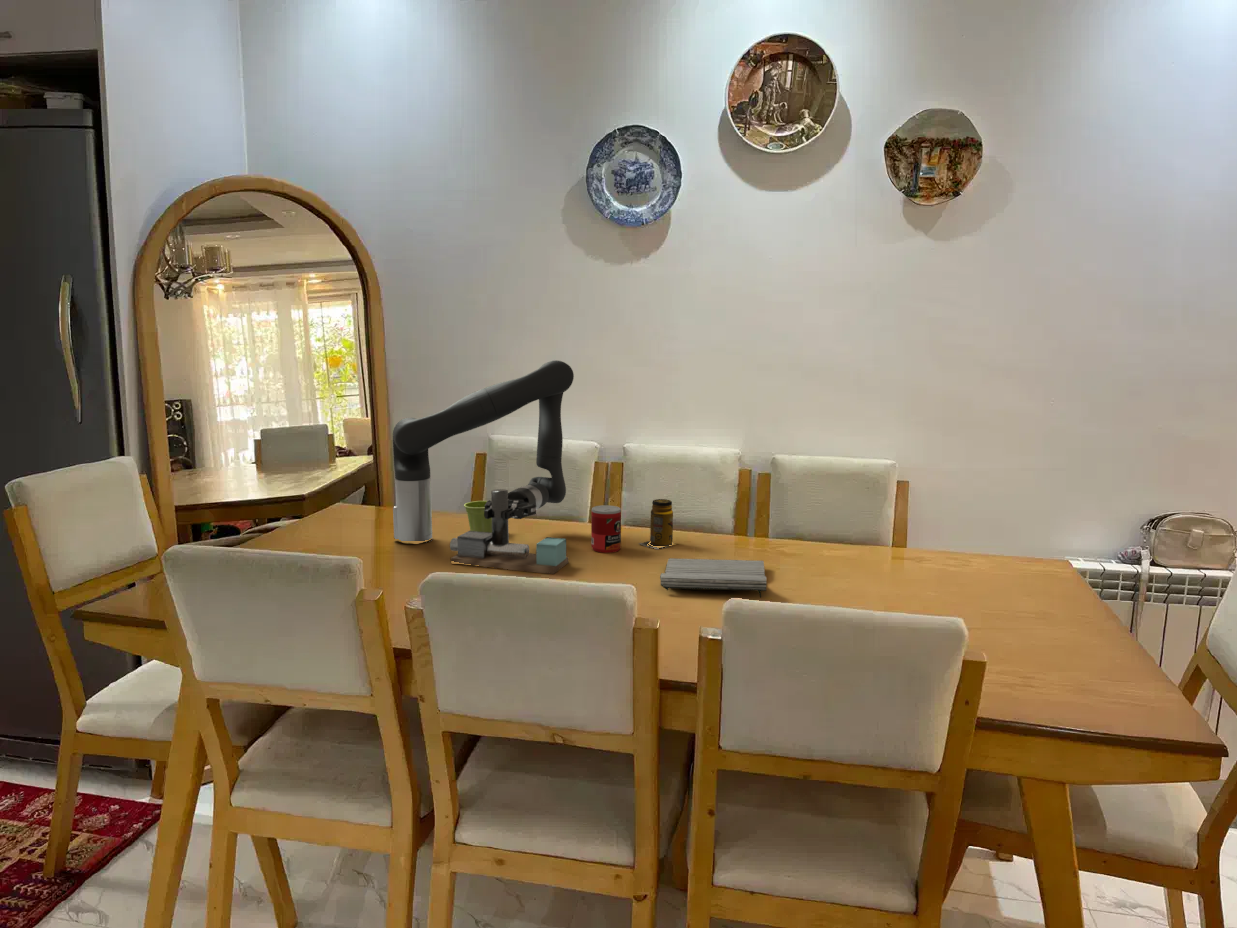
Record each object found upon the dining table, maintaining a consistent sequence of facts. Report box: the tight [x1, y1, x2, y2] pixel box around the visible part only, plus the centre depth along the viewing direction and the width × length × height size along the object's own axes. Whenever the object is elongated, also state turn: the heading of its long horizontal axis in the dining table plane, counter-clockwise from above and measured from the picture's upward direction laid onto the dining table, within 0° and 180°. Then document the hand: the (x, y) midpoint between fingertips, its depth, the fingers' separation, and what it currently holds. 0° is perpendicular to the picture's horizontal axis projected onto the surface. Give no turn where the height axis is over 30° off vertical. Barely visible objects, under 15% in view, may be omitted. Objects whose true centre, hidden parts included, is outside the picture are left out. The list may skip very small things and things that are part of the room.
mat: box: [659, 557, 767, 599], centre depth 189 cm, size 23×24×5 cm
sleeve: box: [456, 530, 492, 559], centre depth 204 cm, size 7×6×5 cm
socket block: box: [535, 536, 567, 566], centre depth 198 cm, size 5×7×5 cm
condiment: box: [638, 498, 674, 550], centre depth 220 cm, size 7×8×12 cm
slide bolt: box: [449, 488, 530, 558], centre depth 202 cm, size 20×4×16 cm, turn 73°
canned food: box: [590, 504, 622, 554], centre depth 215 cm, size 8×8×11 cm
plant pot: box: [463, 500, 492, 533], centre depth 230 cm, size 9×9×9 cm
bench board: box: [450, 552, 569, 575], centre depth 202 cm, size 27×10×2 cm, turn 73°
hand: (495, 515), depth 198 cm, fingers closed on slide bolt, 4 cm apart
